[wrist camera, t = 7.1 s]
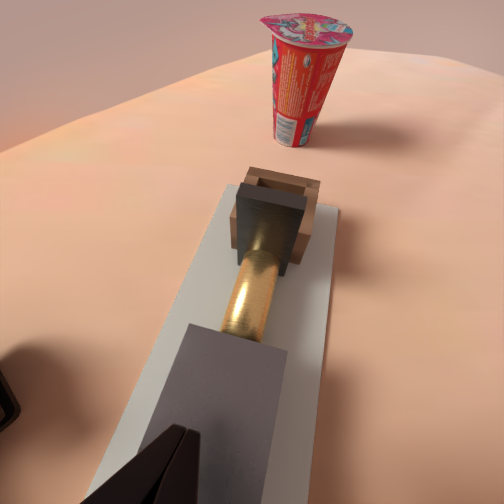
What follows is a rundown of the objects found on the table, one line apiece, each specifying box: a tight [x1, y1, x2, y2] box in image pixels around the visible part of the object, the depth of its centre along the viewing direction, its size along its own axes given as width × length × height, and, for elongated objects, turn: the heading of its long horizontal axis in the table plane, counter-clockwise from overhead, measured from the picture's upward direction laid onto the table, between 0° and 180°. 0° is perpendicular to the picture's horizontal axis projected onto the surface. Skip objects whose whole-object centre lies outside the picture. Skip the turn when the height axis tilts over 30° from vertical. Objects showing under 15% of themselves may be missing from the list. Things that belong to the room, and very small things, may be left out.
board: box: [84, 184, 339, 504], centre depth 21 cm, size 30×13×1 cm, turn 165°
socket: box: [229, 167, 320, 265], centre depth 24 cm, size 6×7×5 cm
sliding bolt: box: [219, 182, 308, 343], centre depth 18 cm, size 17×4×9 cm, turn 165°
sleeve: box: [136, 323, 288, 504], centre depth 15 cm, size 10×6×5 cm, turn 165°
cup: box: [259, 13, 353, 147], centre depth 31 cm, size 9×8×12 cm
